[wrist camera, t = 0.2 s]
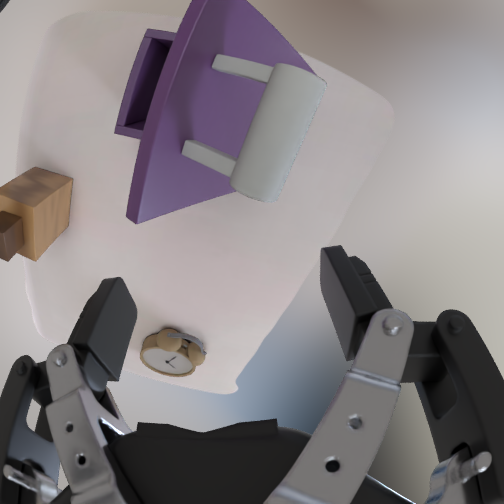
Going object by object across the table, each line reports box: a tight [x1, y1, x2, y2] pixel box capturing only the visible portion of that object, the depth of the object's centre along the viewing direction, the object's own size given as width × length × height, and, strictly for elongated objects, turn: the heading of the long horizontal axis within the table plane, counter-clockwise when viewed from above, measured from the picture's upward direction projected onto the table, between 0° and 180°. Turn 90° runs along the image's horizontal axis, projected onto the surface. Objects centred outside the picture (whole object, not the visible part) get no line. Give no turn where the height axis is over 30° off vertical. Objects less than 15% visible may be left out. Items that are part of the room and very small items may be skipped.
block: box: [0, 210, 24, 261], centre depth 22 cm, size 4×4×4 cm
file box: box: [114, 29, 177, 139], centre depth 25 cm, size 16×11×8 cm
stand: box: [0, 167, 73, 262], centre depth 28 cm, size 8×8×10 cm
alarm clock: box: [140, 329, 207, 377], centre depth 49 cm, size 11×5×15 cm
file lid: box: [126, 0, 327, 224], centre depth 15 cm, size 17×11×5 cm
